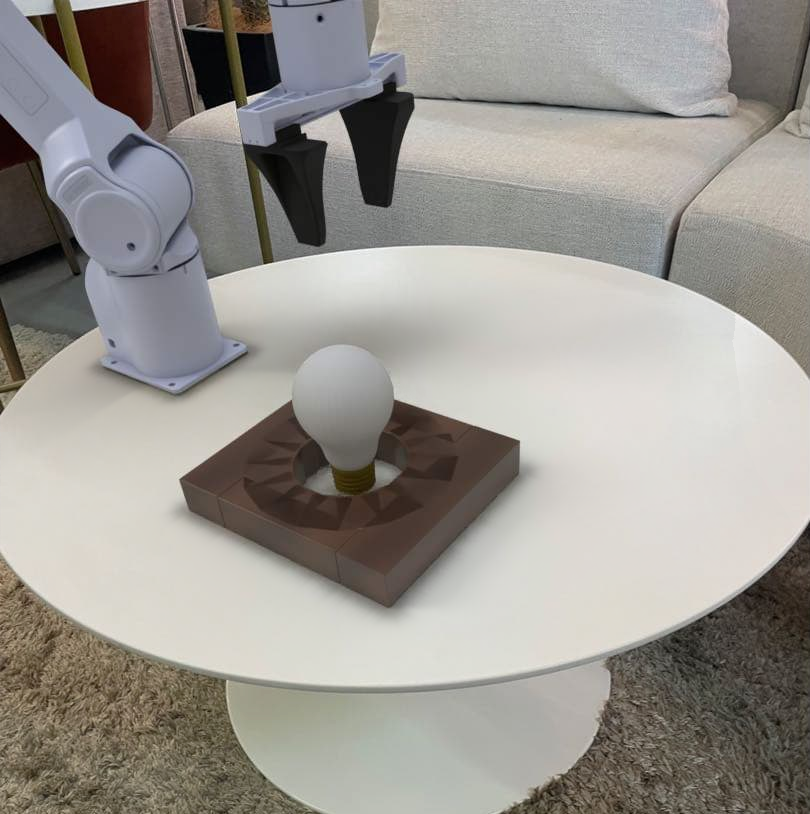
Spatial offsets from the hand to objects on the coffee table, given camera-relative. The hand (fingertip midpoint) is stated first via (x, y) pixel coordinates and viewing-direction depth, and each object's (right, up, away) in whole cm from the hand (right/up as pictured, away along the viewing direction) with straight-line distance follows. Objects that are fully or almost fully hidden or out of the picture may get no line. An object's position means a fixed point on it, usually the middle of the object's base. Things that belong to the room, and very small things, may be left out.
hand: (346, 223), depth 58 cm
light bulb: (+1, -20, -6) cm, 21 cm away
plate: (+1, -20, -6) cm, 21 cm away
